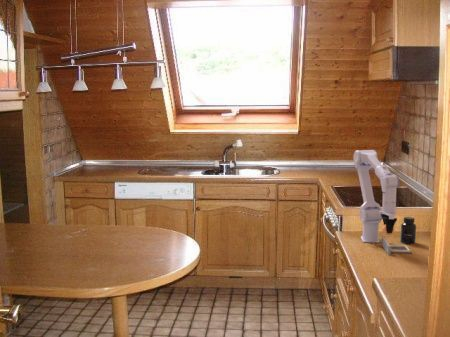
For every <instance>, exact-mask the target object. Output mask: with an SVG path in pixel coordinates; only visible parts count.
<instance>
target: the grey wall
mask: <svg viewBox="0 0 450 337" xmlns="http://www.w3.org/2000/svg"><path fill="white" fill-rule="evenodd" d="M390 245H391V244H390V243H389V241H388V240H387V238H386V237H385V236H384V235H383V236H382V235H381V246H382V247H383V249H384V250H385V253H386V254H387V255H389V256H390V255H391V254H392V253H391V246H390Z"/></svg>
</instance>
